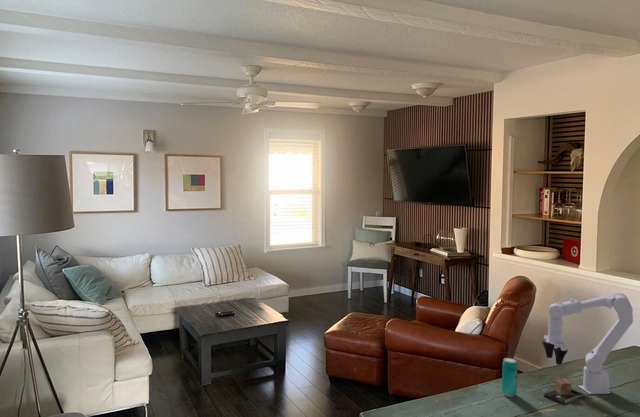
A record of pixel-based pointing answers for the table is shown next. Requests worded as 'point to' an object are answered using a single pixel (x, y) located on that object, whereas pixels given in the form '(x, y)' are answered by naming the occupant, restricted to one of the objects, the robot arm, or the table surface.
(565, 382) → the walnut block
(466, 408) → the table surface
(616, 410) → the table surface
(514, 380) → the beverage can
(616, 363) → the table surface
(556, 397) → the vhs tape
